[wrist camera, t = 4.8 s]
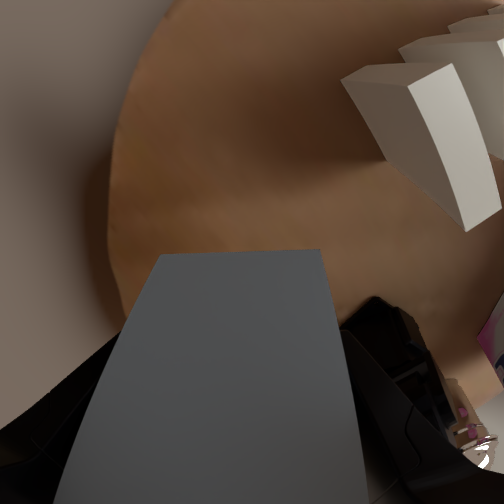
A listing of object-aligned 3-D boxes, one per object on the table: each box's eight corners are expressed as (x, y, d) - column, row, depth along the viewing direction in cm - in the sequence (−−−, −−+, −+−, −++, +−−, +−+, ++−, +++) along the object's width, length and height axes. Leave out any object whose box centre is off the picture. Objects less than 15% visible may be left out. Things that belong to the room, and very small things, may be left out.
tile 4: (366, 65, 16) (451, 63, 7) (410, 146, 18) (501, 208, 10) (339, 80, 17) (407, 86, 8) (386, 160, 19) (466, 232, 10)
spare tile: (317, 292, 13) (350, 561, 4) (170, 295, 13) (93, 537, 5) (319, 249, 12) (374, 555, 3) (160, 254, 12) (48, 517, 3)
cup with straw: (468, 357, 29) (525, 508, 11) (473, 389, 32) (514, 514, 15) (404, 390, 31) (440, 548, 14) (418, 417, 35) (446, 545, 18)
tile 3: (420, 38, 14) (525, 29, 6) (459, 117, 17) (563, 162, 8) (397, 49, 15) (496, 41, 6) (439, 130, 17) (539, 181, 9)
